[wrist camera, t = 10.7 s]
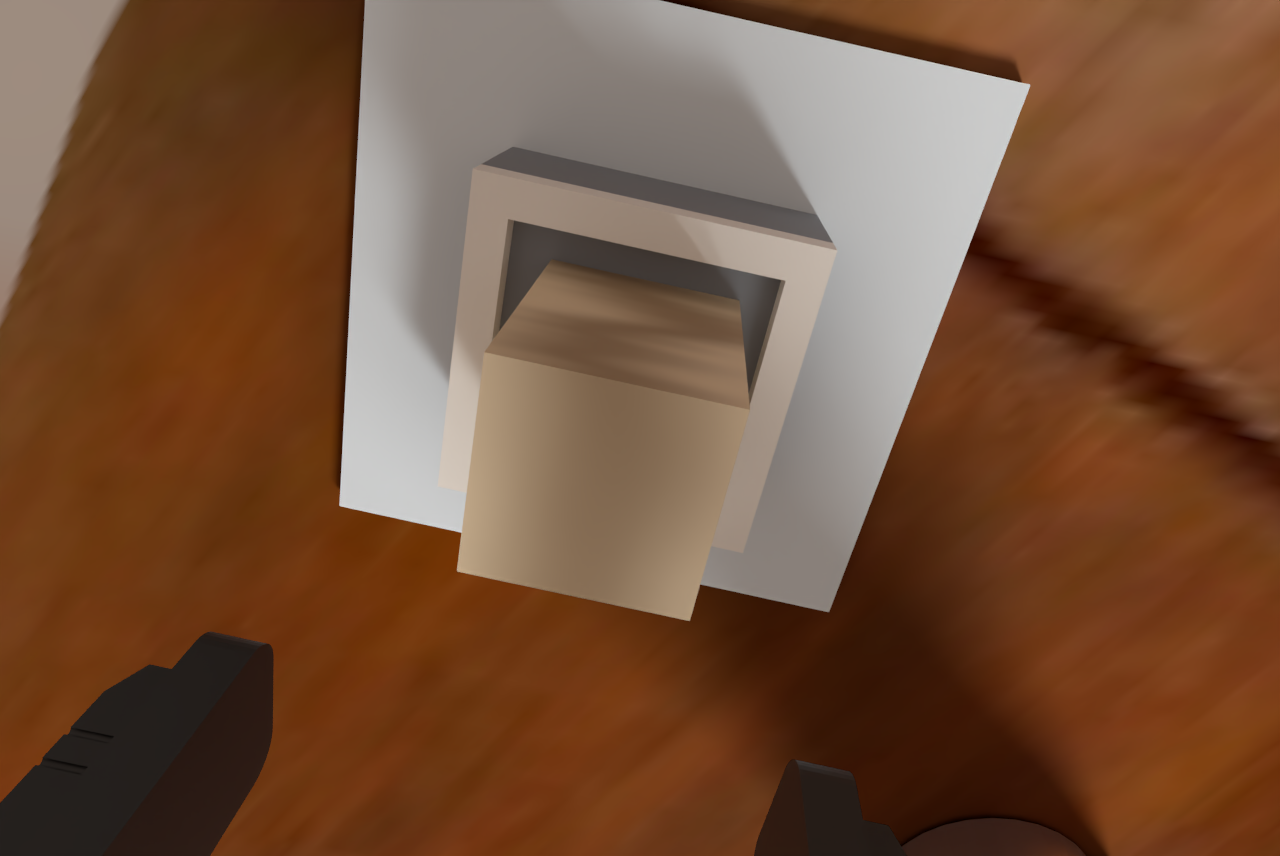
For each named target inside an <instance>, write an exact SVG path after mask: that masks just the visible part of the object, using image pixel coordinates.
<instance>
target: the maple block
mask: <svg viewBox="0 0 1280 856" xmlns="http://www.w3.org/2000/svg"><path fill="white" fill-rule="evenodd" d="M749 412H750V404H749V393H748V383H747V373H746V362H745V352H744V342H743V331H742V321H741V311H740V300H735V299H731V298H726V297H721V296H717V295H712V294H708V293H703V292H699V291H694V290H689V289H685V288H680V287H676V286H671V285H667V284H662V283H658V282H653V281H648V280H644V279H639V278H635V277H630V276H626V275H621V274H616V273H612V272H607V271H603V270H598V269H594V268H589V267H585V266H580V265H575V264H571V263H566V262H562V261H557V260H553V259H551V261H550V262H549V263H548V265H547V266H546V268H545V269H544V270H543V272H542V273H541V275H540V276H539V277H538V279H537V280H536V281H535V283H534V284H533V286H532V287H531V288H530V290H529V291H528V292H527V294H526V295H525V297H524V298H523V299H522V301H521V302H520V303H519V305H518V306H517V308H516V309H515V310H514V312H513V313H512V315H511V316H510V317H509V319H508V320H507V321H506V323H505V324H504V326H503V327H502V328H501V330H500V331H499V332H498V334H497V335H496V337H495V338H494V339H493V341H492V342H491V343H490V345H489V346H488V348H487V349H486V350H485V352H484V358H483V366H482V374H481V382H480V390H479V398H478V406H477V414H476V422H475V430H474V438H473V446H472V454H471V462H470V470H469V478H468V486H467V494H466V502H465V510H464V518H463V526H462V534H461V542H460V550H459V558H458V566H457V571H458V572H462V573H467V574H472V575H477V576H481V577H486V578H491V579H495V580H500V581H505V582H509V583H514V584H519V585H523V586H528V587H533V588H537V589H542V590H547V591H551V592H556V593H561V594H565V595H570V596H575V597H579V598H584V599H589V600H593V601H598V602H603V603H608V604H612V605H617V606H622V607H626V608H631V609H636V610H640V611H645V612H650V613H654V614H659V615H664V616H668V617H673V618H678V619H682V620H687V621H690V618H691V615H692V611H693V608H694V604H695V601H696V597H697V594H698V590H699V587H700V583H701V580H702V576H703V573H704V569H705V566H706V562H707V559H708V555H709V552H710V548H711V545H712V541H713V538H714V534H715V531H716V527H717V524H718V520H719V517H720V513H721V510H722V506H723V503H724V499H725V496H726V492H727V489H728V485H729V482H730V478H731V475H732V471H733V468H734V464H735V461H736V457H737V454H738V450H739V447H740V443H741V440H742V436H743V433H744V429H745V426H746V422H747V419H748V416H749Z"/></svg>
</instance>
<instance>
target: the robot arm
mask: <svg viewBox="0 0 1280 856" xmlns="http://www.w3.org/2000/svg"><path fill="white" fill-rule="evenodd" d="M272 729H273V650H272V647H271V646H270V645H269V644H266V643H261V642H257V641H252V640H247V639H243V638H238V637H233V636H229V635H224V634H220V633H215V632H207V633H205V634H203V635H202V636H201V637H200V638H199V639H198V640H197V641H196V642H195V643H194V644H193V645H192V646H191V648H190V649H189V650H188V651H187V652H186V653H185V655H184V656H183V657H182V658H181V659H180V660H179V661H178V663H177V664H176V665H175V666H174V667H173V668H172V669H168V668H163V667H159V666H154V665H148V666H146V667H145V668H143V669H141V670H140V671H138V672H136V673H135V674H133V675H131V676H130V677H128V678H126V679H124V680H123V681H121V682H119V683H118V684H116V685H114V686H113V687H111V688H109V689H108V690H106V691H104V692H103V693H102V694H101V696H100V697H99V698H98V699H97V700H96V701H95V702H94V703H93V704H92V705H91V706H90V707H89V708H88V709H87V711H86V712H85V713H84V714H83V715H82V716H81V717H80V718H79V719H78V720H77V721H76V722H75V723H74V724H73V726H72V727H71V730H70V732H69V734H68V735H65V734H64V735H63V736H62V737H61V738H60V739H59V741H58V742H57V743H56V744H55V745H54V746H53V747H52V748H51V749H50V750H49V751H48V752H47V753H46V754H45V756H44V757H43V760H42V762H41V764H40V765H39V766H37V765H35V766H34V767H33V768H32V769H31V771H30V772H29V773H28V774H27V775H26V776H25V777H24V778H23V779H22V780H21V781H20V782H19V783H18V784H17V786H16V787H15V788H14V789H13V790H12V791H11V792H10V793H9V794H8V795H7V796H6V797H5V798H4V799H3V801H2V802H1V803H0V856H210V855H211V853H212V852H213V850H214V848H215V847H216V845H217V844H218V842H219V840H220V839H221V837H222V835H223V834H224V832H225V831H226V829H227V827H228V826H229V824H230V822H231V821H232V819H233V818H234V816H235V814H236V813H237V811H238V809H239V808H240V806H241V805H242V803H243V801H244V800H245V798H246V797H247V795H248V793H249V792H250V790H251V788H252V787H253V785H254V783H255V782H256V780H257V778H258V776H259V774H260V772H261V770H262V767H263V765H264V762H265V760H266V757H267V754H268V751H269V747H270V743H271V738H272ZM754 856H1086V855H1085V854H1084V853H1083V852H1082V851H1081V849H1080V848H1079V847H1078V846H1077V845H1076V844H1075V843H1073V842H1072V841H1070V840H1069V839H1067V838H1066V837H1064V836H1063V835H1061V834H1060V833H1058V832H1056V831H1053V830H1051V829H1048V828H1046V827H1043V826H1041V825H1038V824H1034V823H1029V822H1025V821H1020V820H1016V819H1001V818H984V819H971V820H964V821H960V822H955V823H951V824H946V825H943V826H940V827H938V828H935V829H932V830H930V831H927V832H925V833H922V834H921V835H919V836H917V837H916V838H914V839H912V840H911V841H909V842H907V843H906V844H904V845H903V846H902V847H901V845H900V844H899V842H898V840H897V839H896V837H895V835H894V834H893V832H892V831H891V829H890V827H889V826H888V825H883V824H879V823H874V822H869V821H865V820H863V818H862V813H861V807H860V802H859V797H858V791H857V786H856V782H855V779H854V776H853V775H852V773H851V772H850V771H845V770H841V769H836V768H831V767H827V766H822V765H817V764H813V763H808V762H804V761H799V760H794V759H792V760H791V761H790V762H789V763H788V765H787V766H786V769H785V771H784V774H783V776H782V779H781V781H780V784H779V786H778V789H777V791H776V794H775V796H774V799H773V802H772V804H771V807H770V809H769V812H768V814H767V817H766V819H765V822H764V824H763V827H762V829H761V832H760V835H759V837H758V841H757V844H756V849H755V854H754Z"/></svg>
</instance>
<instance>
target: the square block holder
mask: <svg viewBox="0 0 1280 856" xmlns="http://www.w3.org/2000/svg"><path fill="white" fill-rule="evenodd" d="M1029 88H1030V85H1029V84H1025V83H1020V82H1016V81H1012V80H1007V79H1003V78H998V77H994V76H990V75H985V74H981V73H977V72H972V71H968V70H963V69H959V68H955V67H950V66H946V65H941V64H937V63H933V62H928V61H924V60H919V59H915V58H911V57H906V56H902V55H898V54H893V53H889V52H884V51H880V50H876V49H871V48H867V47H862V46H858V45H854V44H849V43H845V42H841V41H836V40H832V39H827V38H823V37H819V36H814V35H810V34H805V33H801V32H797V31H792V30H788V29H783V28H779V27H775V26H770V25H766V24H762V23H757V22H753V21H748V20H744V19H740V18H735V17H731V16H726V15H722V14H718V13H713V12H709V11H704V10H700V9H696V8H691V7H687V6H683V5H678V4H674V3H669V2H665V1H661V0H365V12H364V31H363V51H362V71H361V91H360V110H359V130H358V150H357V170H356V189H355V209H354V229H353V249H352V268H351V288H350V308H349V327H348V347H347V367H346V387H345V406H344V426H343V446H342V466H341V485H340V505H339V506H342V507H347V508H351V509H356V510H360V511H365V512H370V513H374V514H379V515H383V516H388V517H393V518H397V519H402V520H406V521H411V522H416V523H420V524H425V525H429V526H434V527H439V528H443V529H448V530H452V531H457V532H462V526H463V518H464V510H465V502H466V494H467V486H468V478H469V470H470V462H471V454H472V446H473V438H474V430H475V422H476V414H477V406H478V398H479V390H480V382H481V374H482V366H483V358H484V352H485V350H486V349H487V348H488V346H489V345H490V343H491V342H492V341H493V339H494V338H495V337H496V335H497V334H498V332H499V331H500V330H501V328H502V327H503V326H504V324H505V323H506V321H507V320H508V319H509V317H510V316H511V315H512V313H513V312H514V310H515V309H516V308H517V306H518V305H519V303H520V302H521V301H522V299H523V298H524V297H525V295H526V294H527V292H528V291H529V290H530V288H531V287H532V286H533V284H534V283H535V281H536V280H537V279H538V277H539V276H540V275H541V273H542V272H543V270H544V269H545V268H546V266H547V265H548V263H549V262H550V261H551V259H553V260H557V261H562V262H566V263H571V264H575V265H580V266H585V267H589V268H594V269H598V270H603V271H607V272H612V273H616V274H621V275H626V276H630V277H635V278H639V279H644V280H648V281H653V282H658V283H662V284H667V285H671V286H676V287H680V288H685V289H689V290H694V291H699V292H703V293H708V294H712V295H717V296H721V297H726V298H731V299H735V300H740V311H741V321H742V331H743V342H744V352H745V362H746V373H747V383H748V393H749V404H750V412H749V416H748V419H747V422H746V426H745V429H744V433H743V436H742V440H741V443H740V447H739V450H738V454H737V457H736V461H735V464H734V468H733V471H732V475H731V478H730V482H729V485H728V489H727V492H726V496H725V499H724V503H723V506H722V510H721V513H720V517H719V520H718V524H717V527H716V531H715V534H714V538H713V541H712V545H711V548H710V552H709V555H708V559H707V562H706V566H705V569H704V573H703V576H702V580H701V583H700V584H701V585H705V586H710V587H715V588H719V589H724V590H728V591H733V592H738V593H742V594H747V595H751V596H756V597H761V598H765V599H770V600H774V601H779V602H784V603H788V604H793V605H797V606H802V607H807V608H811V609H816V610H820V611H825V612H829V611H830V608H831V606H832V603H833V601H834V598H835V595H836V593H837V590H838V587H839V585H840V582H841V580H842V577H843V574H844V572H845V569H846V566H847V564H848V561H849V559H850V556H851V553H852V551H853V548H854V546H855V543H856V540H857V538H858V535H859V532H860V530H861V527H862V525H863V522H864V519H865V517H866V514H867V512H868V509H869V506H870V504H871V501H872V498H873V496H874V493H875V491H876V488H877V485H878V483H879V480H880V478H881V475H882V472H883V470H884V467H885V464H886V462H887V459H888V457H889V454H890V451H891V449H892V446H893V443H894V441H895V438H896V436H897V433H898V430H899V428H900V425H901V423H902V420H903V417H904V415H905V412H906V409H907V407H908V404H909V402H910V399H911V396H912V394H913V391H914V389H915V386H916V383H917V381H918V378H919V375H920V373H921V370H922V368H923V365H924V362H925V360H926V357H927V355H928V352H929V349H930V347H931V344H932V341H933V339H934V336H935V334H936V331H937V328H938V326H939V323H940V320H941V318H942V315H943V313H944V310H945V307H946V305H947V302H948V300H949V297H950V294H951V292H952V289H953V286H954V284H955V281H956V279H957V276H958V273H959V271H960V268H961V266H962V263H963V260H964V258H965V255H966V252H967V250H968V247H969V245H970V242H971V239H972V237H973V234H974V232H975V229H976V226H977V224H978V221H979V218H980V216H981V213H982V211H983V208H984V205H985V203H986V200H987V197H988V195H989V192H990V190H991V187H992V184H993V182H994V179H995V177H996V174H997V171H998V169H999V166H1000V163H1001V161H1002V158H1003V156H1004V153H1005V150H1006V148H1007V145H1008V143H1009V140H1010V137H1011V135H1012V132H1013V129H1014V127H1015V124H1016V122H1017V119H1018V116H1019V114H1020V111H1021V109H1022V106H1023V103H1024V101H1025V98H1026V95H1027V93H1028V90H1029Z"/></svg>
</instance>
